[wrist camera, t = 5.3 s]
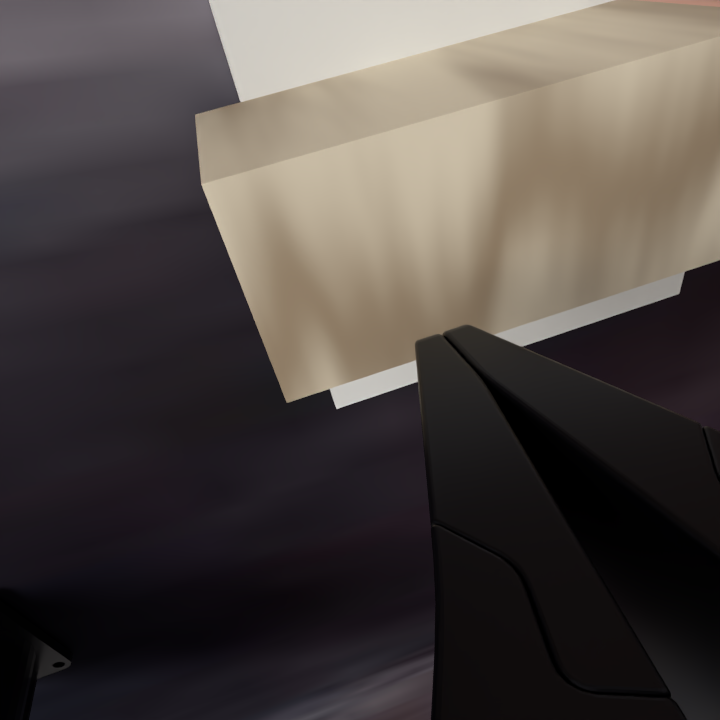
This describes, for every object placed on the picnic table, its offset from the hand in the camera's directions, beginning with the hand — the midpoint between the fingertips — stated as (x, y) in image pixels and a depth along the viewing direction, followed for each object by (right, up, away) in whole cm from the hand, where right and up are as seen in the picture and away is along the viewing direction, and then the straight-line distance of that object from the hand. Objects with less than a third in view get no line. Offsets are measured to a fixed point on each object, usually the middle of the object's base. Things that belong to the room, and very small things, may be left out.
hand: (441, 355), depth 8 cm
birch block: (-4, +2, +4) cm, 6 cm away
